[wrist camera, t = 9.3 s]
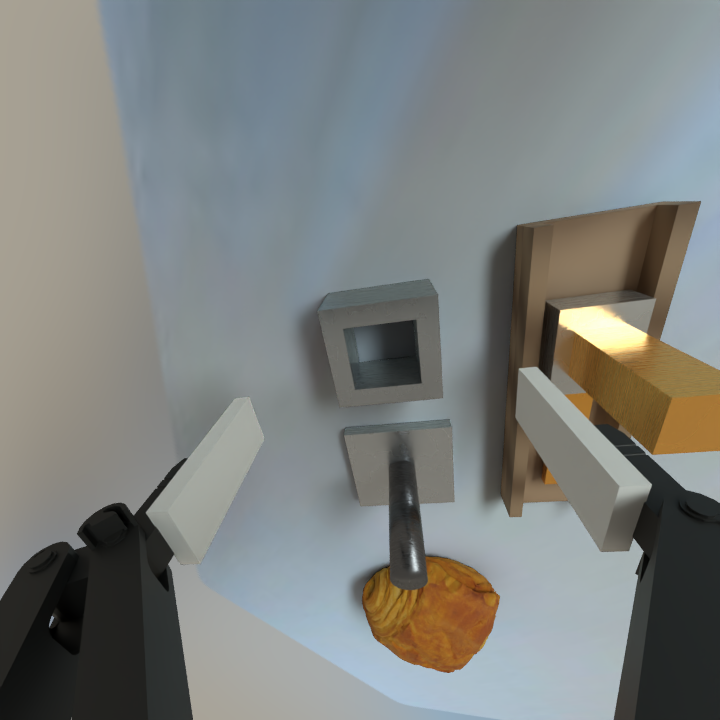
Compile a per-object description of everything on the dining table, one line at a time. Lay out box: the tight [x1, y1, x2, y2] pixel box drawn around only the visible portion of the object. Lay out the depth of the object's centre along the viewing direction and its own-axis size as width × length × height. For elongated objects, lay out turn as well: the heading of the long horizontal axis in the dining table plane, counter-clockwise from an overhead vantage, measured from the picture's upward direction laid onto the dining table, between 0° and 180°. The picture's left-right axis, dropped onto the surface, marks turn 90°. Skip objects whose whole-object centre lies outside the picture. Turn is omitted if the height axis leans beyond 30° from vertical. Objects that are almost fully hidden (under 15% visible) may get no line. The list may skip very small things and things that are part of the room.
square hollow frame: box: [317, 279, 443, 408], centre depth 21 cm, size 7×7×4 cm
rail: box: [501, 201, 701, 517], centre depth 22 cm, size 24×8×2 cm, turn 9°
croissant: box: [362, 556, 500, 673], centre depth 35 cm, size 14×16×8 cm
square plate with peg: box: [344, 419, 454, 590], centre depth 24 cm, size 9×9×10 cm
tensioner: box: [538, 290, 720, 484], centre depth 19 cm, size 16×5×9 cm, turn 9°
